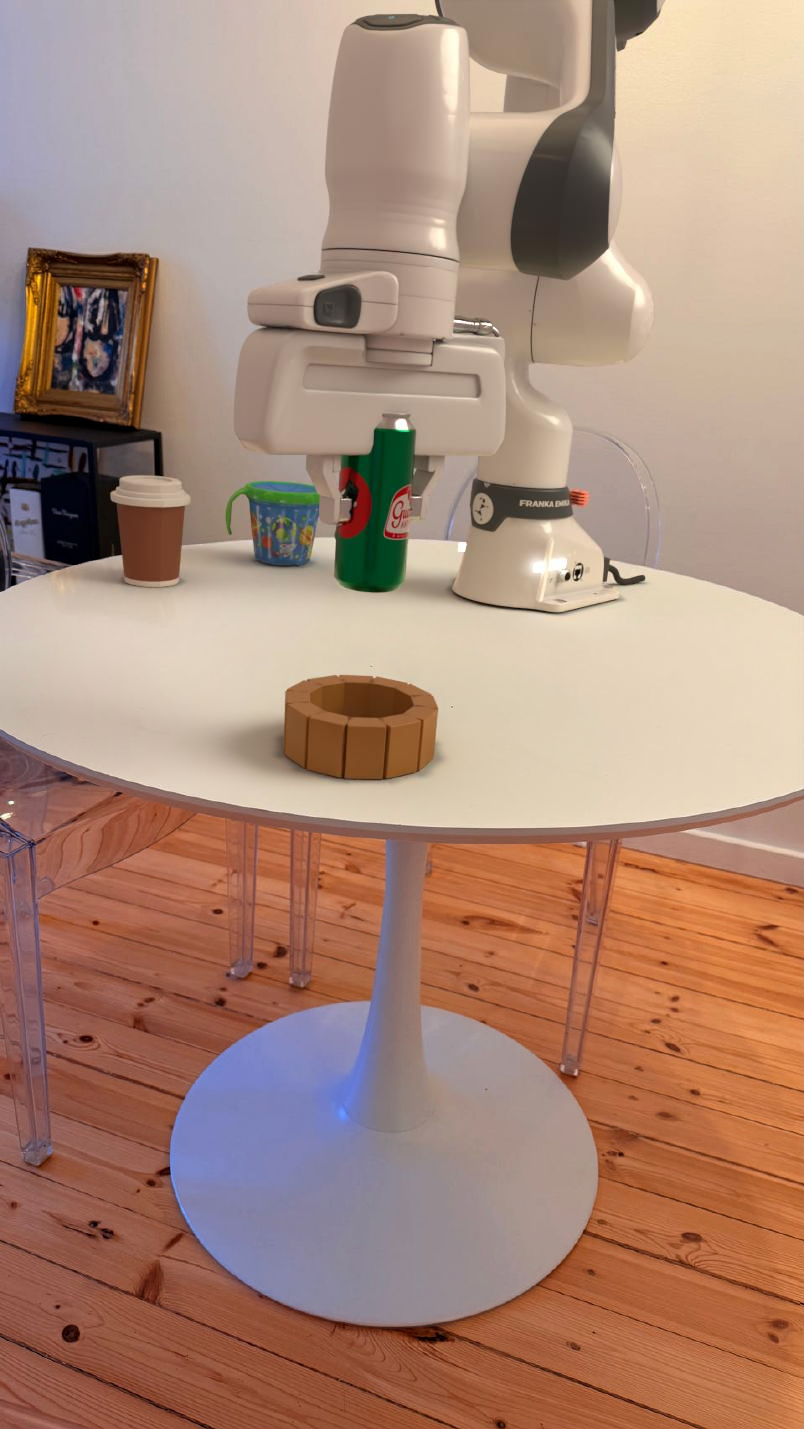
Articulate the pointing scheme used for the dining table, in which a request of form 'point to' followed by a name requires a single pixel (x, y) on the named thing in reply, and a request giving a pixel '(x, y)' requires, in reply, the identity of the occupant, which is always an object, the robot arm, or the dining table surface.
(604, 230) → the robot arm
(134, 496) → the coffee cup
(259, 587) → the dining table surface
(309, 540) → the snack cup
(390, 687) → the brown segmented block ring
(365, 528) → the soda can
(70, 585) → the dining table surface
